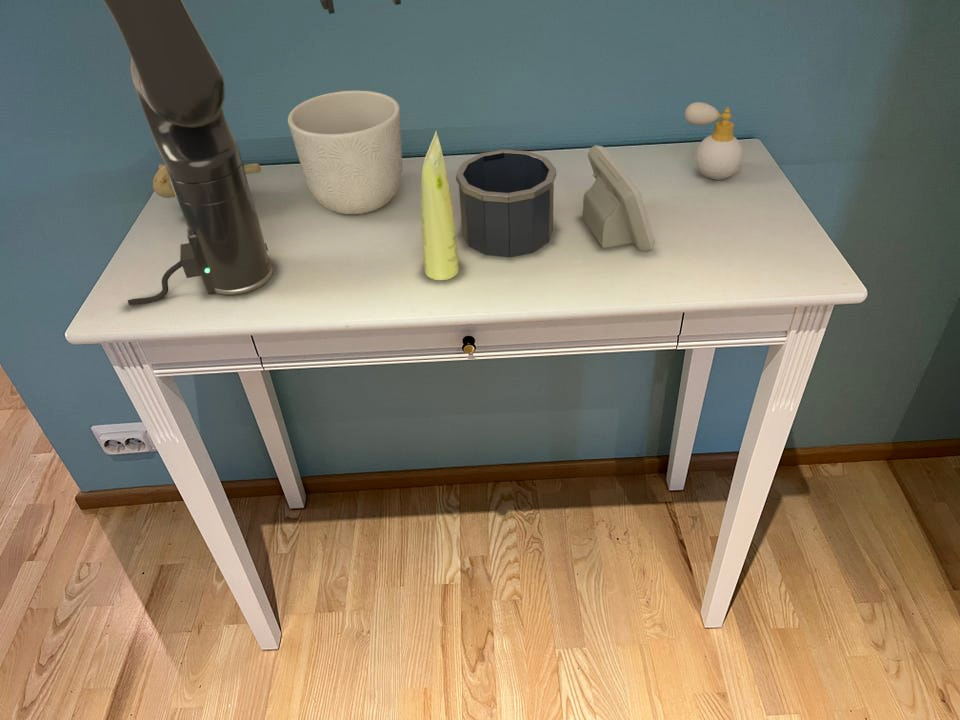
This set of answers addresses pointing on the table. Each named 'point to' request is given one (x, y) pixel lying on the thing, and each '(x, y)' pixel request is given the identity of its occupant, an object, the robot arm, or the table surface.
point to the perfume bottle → (715, 142)
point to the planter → (349, 149)
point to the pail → (506, 202)
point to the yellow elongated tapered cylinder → (437, 217)
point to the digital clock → (615, 205)
